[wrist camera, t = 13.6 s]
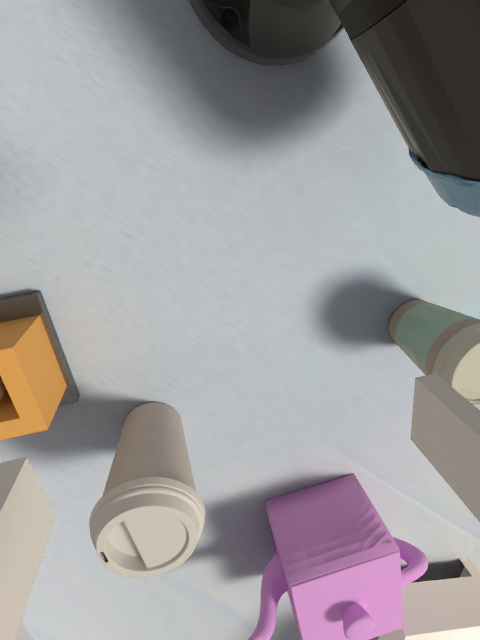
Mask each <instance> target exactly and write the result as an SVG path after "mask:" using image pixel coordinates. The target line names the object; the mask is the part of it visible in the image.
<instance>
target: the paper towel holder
mask: <svg viewBox="0 0 480 640" xmlns="http://www.w3.org/2000/svg"><path fill="white" fill-rule="evenodd" d="M459 559H460V560H461V562H462V563H463V564H464V568H463V570H462V572H461V575H460V577H459V578H451V579H442V580H432V581H422V582H413V583H409V584H407V585H405V586H403V587H402V605H403V628H401V629H398V630H395V631H392V632H389V633H386V634H383V635H381V636H379V638H378V640H480V572H479V570H478V569H477V568H476V566H475V565H474V564H473V562H472V561H471V560H470V559H469V558H459Z"/></svg>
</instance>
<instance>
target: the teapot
mask: <svg viewBox="0 0 480 640" xmlns="http://www.w3.org/2000/svg"><path fill="white" fill-rule="evenodd" d="M265 505H266V510H267V514H268V518H269V522H270V526H271V530H272V534H273V538H274V542H275V546H276V551H277V553H276V554H275V555H274V556H273V557H272V558H271V559H270V561H269V562H268V564H267V565H266V567H265V570H264V573H263V578H262V585H261V606H260V616H259V621H258V624H257V627H256V629H255V631H254V633H253V634H252V636H251V637H250V638H249V639H248V640H269V639H270V638H271V636H272V634H273V632H274V629H275V624H276V611H277V604H278V601H279V599H280V597H281V596H282V595H283V594H284V593H285V592H286V591H287V592H288V595H289V599H290V602H291V606H292V609H293V613H294V616H295V620H296V623H297V627H298V630H299V634H300V637H301V640H369V639H372V638H375V637H378V636H381V635H383V634H386V633H389V632H392V631H395V630H398V629H401V628H403V605H402V587H403V586H405V585H407V584H409V583H411V582H413V581H415V580H416V579H418V578H419V577H421V576H422V575H423V574H424V573H425V572H426V570H427V568H428V560H427V557H426V556H425V554H424V553H423V552H422V551H420V550H419V549H418V548H416V547H415V546H413V545H411V544H409V543H407V542H405V541H402V540H399V539H397V538H393V537H392V536H391V534H390V532H389V531H388V529H387V527H386V526H385V524H384V522H383V521H382V519H381V518H380V516H379V514H378V513H377V511H376V509H375V508H374V506H373V504H372V503H371V501H370V499H369V498H368V496H367V495H366V493H365V491H364V490H363V488H362V486H361V485H360V483H359V481H358V480H357V478H356V476H355V475H354V473H353V474H350V475H347V476H343V477H340V478H337V479H334V480H330V481H327V482H324V483H320V484H317V485H314V486H311V487H307V488H304V489H301V490H298V491H294V492H291V493H288V494H284V495H281V496H278V497H275V498H271V499H268V500H265ZM400 558H401V559H403V560H404V561H406V562H407V563H408V566H407V567H406V568H404V569H403V570H401V561H400Z"/></svg>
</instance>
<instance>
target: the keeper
mask: <svg viewBox="0 0 480 640" xmlns="http://www.w3.org/2000/svg"><path fill="white" fill-rule="evenodd" d="M37 315H40V317H41V320H42V322H43V325H44V327H45V330H46V333H47V335H48V338H49V340H50V343H51V346H52V348H53V351H54V354H55V356H56V359H57V361H58V364H59V367H60V369H61V372H62V375H63V377H64V380H65V382H66V385H67V387H66V390H65V392H64V394H63V396H62V399H61V401H60V403H59V406H61V405H65V404H70V403H74V402H78V399H79V396H80V395H79V392H78V389H77V387H76V384H75V381H74V379H73V376H72V373H71V371H70V368H69V365H68V363H67V360H66V357H65V355H64V352H63V349H62V347H61V344H60V341H59V339H58V336H57V333H56V331H55V328H54V325H53V323H52V320H51V317H50V315H49V312H48V309H47V307H46V304H45V301H44V299H43V296H42V293H41V291H37V292H31V293H26V294H21V295H15V296H10V297H5V298H0V322H5V321H10V320H16V319H21V318H26V317H31V316H37ZM6 391H7V389H6V387H5V385H4V382H3V380H2V378H1V376H0V400H1V398H2V397H3V395H4V394H5V392H6Z"/></svg>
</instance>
